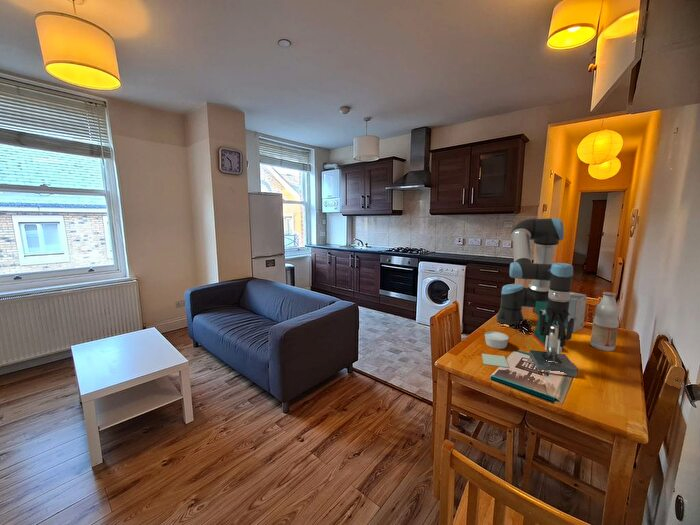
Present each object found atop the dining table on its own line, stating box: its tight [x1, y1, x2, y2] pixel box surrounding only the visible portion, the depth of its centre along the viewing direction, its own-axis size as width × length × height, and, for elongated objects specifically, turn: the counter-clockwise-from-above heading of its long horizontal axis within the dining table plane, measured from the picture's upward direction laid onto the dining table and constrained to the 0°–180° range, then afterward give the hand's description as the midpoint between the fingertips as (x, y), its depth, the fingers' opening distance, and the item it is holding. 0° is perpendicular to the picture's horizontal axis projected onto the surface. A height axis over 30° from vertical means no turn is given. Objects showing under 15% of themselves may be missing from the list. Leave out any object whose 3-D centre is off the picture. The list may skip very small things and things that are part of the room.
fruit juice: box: [590, 291, 621, 352], centre depth 143 cm, size 9×9×28 cm
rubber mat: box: [481, 353, 509, 368], centre depth 134 cm, size 10×10×1 cm
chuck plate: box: [528, 349, 578, 378], centre depth 128 cm, size 14×14×4 cm
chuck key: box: [546, 325, 560, 361], centre depth 126 cm, size 4×8×15 cm, turn 123°
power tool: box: [531, 301, 571, 349], centre depth 142 cm, size 32×7×20 cm, turn 168°
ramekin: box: [484, 331, 510, 350], centre depth 149 cm, size 11×11×5 cm
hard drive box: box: [565, 291, 587, 334], centre depth 167 cm, size 16×8×20 cm, turn 124°
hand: (552, 350), depth 127 cm, fingers closed on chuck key, 4 cm apart
